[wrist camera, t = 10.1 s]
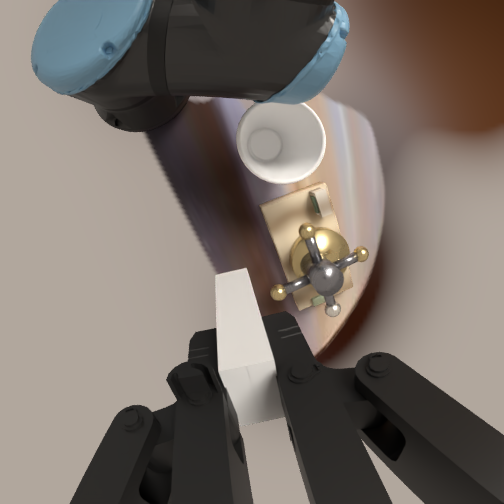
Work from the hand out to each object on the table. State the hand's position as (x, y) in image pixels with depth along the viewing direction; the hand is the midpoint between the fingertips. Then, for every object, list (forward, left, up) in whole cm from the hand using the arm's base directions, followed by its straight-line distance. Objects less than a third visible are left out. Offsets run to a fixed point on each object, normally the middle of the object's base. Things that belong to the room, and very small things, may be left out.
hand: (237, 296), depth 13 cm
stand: (+11, +10, -28) cm, 32 cm away
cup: (-6, +9, -29) cm, 31 cm away
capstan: (+12, +9, -26) cm, 30 cm away
